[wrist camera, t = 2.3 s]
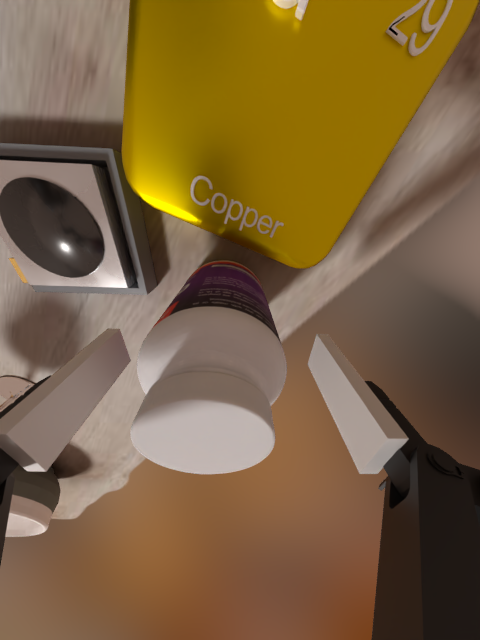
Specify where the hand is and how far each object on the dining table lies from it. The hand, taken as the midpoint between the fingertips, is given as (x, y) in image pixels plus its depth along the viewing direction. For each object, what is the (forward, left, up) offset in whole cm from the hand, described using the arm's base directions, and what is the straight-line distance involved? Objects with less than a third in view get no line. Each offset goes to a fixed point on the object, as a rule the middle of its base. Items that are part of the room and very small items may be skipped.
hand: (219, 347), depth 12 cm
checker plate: (-6, -12, -7) cm, 15 cm away
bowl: (+41, -42, -8) cm, 59 cm away
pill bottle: (0, 0, -8) cm, 8 cm away
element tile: (-13, +3, -9) cm, 16 cm away
